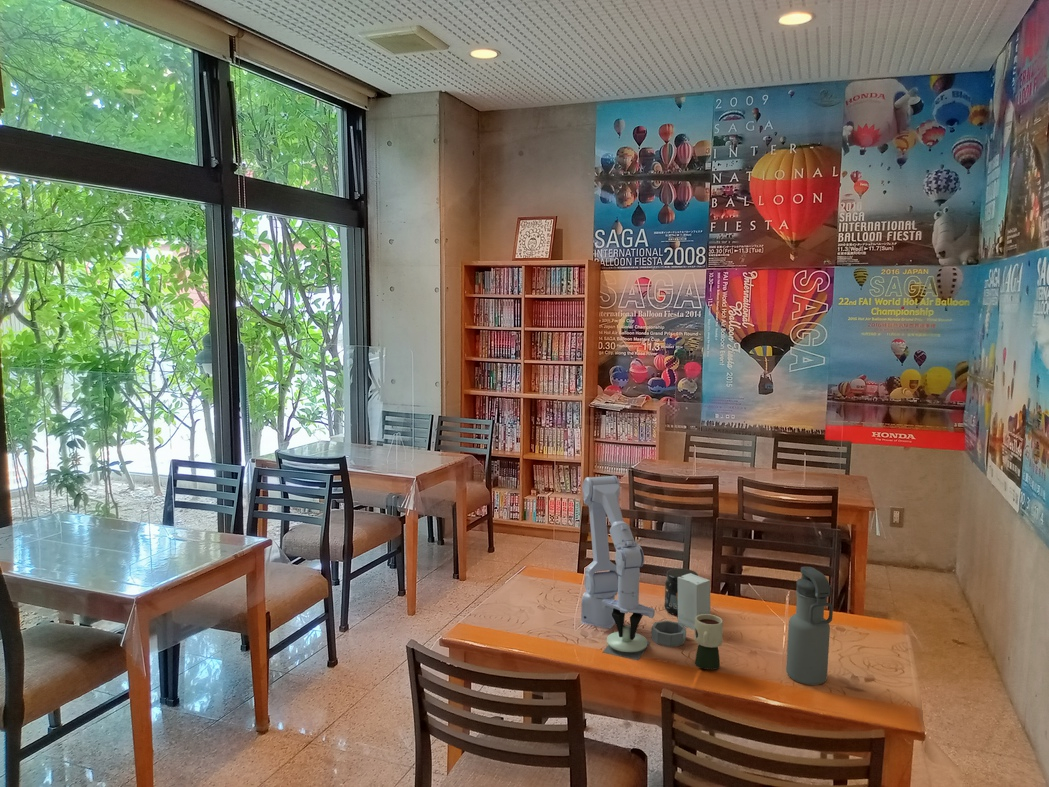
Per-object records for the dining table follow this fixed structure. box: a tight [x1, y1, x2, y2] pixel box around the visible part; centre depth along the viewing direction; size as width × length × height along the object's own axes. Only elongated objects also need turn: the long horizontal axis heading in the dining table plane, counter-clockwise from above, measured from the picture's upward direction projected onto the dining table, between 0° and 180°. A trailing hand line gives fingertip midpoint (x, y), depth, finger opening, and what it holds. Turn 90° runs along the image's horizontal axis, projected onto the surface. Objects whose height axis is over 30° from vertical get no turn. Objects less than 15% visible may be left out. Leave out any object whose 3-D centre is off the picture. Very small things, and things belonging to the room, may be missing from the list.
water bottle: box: [785, 566, 834, 686], centre depth 184 cm, size 10×10×28 cm
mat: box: [602, 640, 651, 661], centre depth 201 cm, size 10×12×1 cm
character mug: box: [693, 613, 724, 670], centre depth 190 cm, size 11×7×13 cm, turn 156°
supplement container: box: [663, 567, 699, 616], centre depth 226 cm, size 10×10×12 cm
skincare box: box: [677, 573, 711, 631], centre depth 215 cm, size 8×6×15 cm
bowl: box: [650, 620, 687, 648], centre depth 205 cm, size 9×9×4 cm
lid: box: [606, 624, 648, 652], centre depth 200 cm, size 11×11×4 cm
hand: (627, 637), depth 200 cm, fingers closed on lid, 3 cm apart
